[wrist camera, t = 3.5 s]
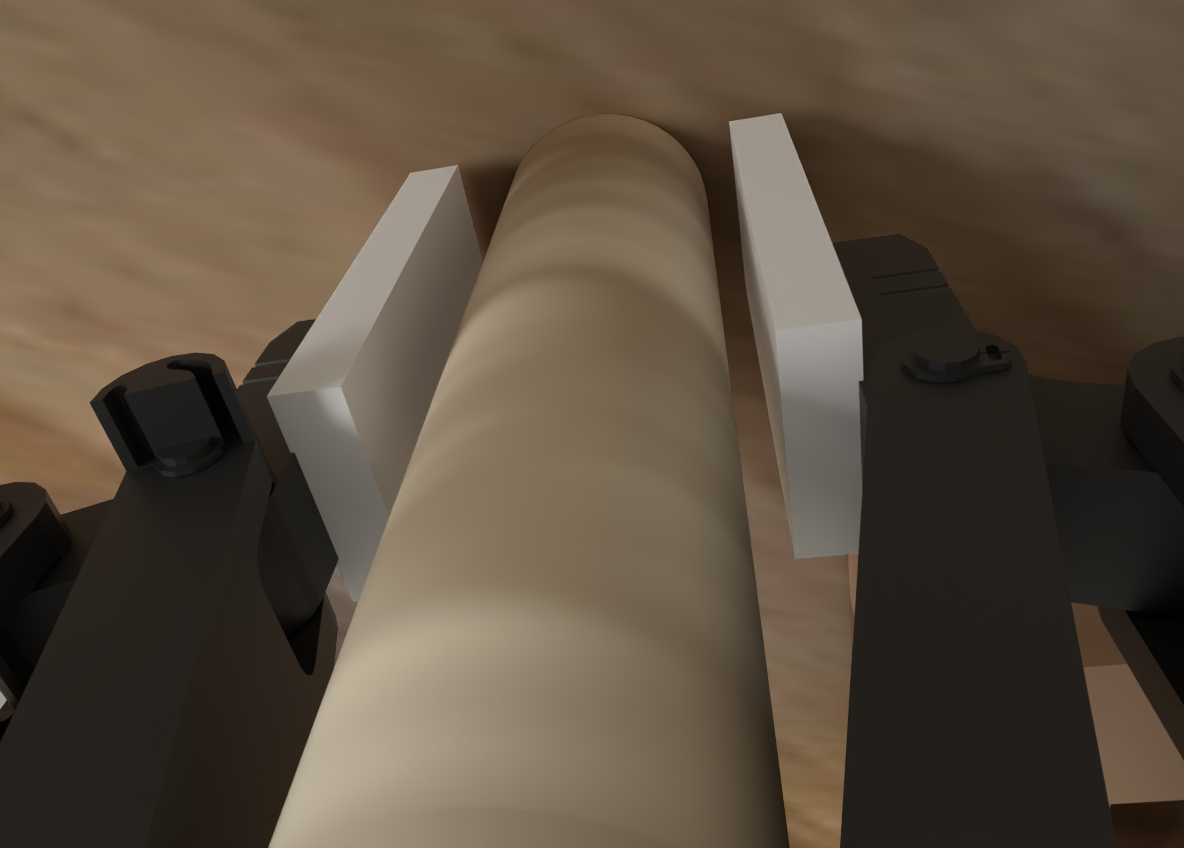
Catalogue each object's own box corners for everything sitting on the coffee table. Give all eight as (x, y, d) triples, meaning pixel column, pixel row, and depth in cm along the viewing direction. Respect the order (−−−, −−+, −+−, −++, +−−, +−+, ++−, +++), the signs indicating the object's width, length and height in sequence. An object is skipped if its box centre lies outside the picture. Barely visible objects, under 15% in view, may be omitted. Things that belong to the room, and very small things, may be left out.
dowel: (531, 315, 17) (342, 1113, 7) (488, 131, 15) (147, 827, 5) (718, 290, 16) (819, 1102, 6) (694, 97, 14) (785, 787, 4)
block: (860, 833, 24) (904, 1056, 19) (843, 472, 18) (902, 681, 14) (1353, 805, 22) (1515, 1042, 18) (1511, 400, 16) (1810, 611, 12)
